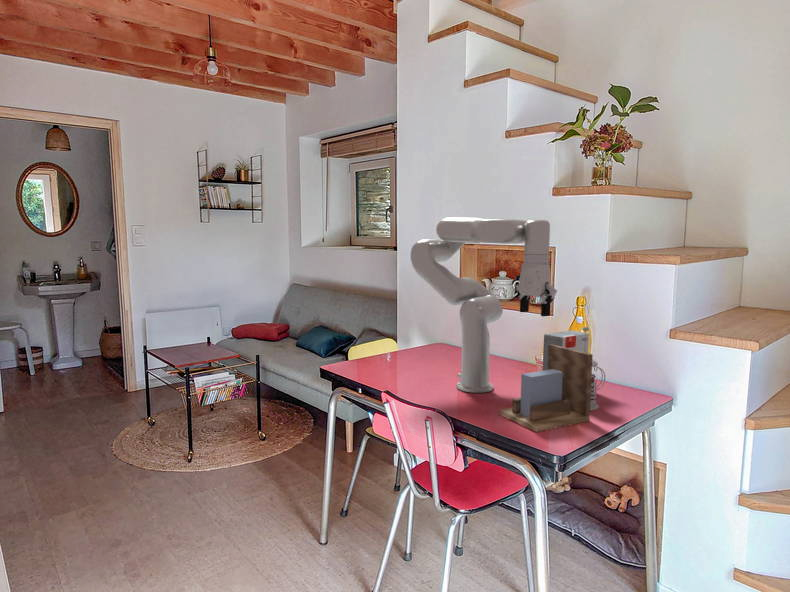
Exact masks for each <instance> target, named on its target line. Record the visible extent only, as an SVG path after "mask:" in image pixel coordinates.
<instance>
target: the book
mask: <svg viewBox="0 0 790 592" xmlns="http://www.w3.org/2000/svg"><path fill="white" fill-rule="evenodd" d="M562 378H563V372H560V371H557V370H554V369H551V370H544V371H542V370H539V371H532V372H531V371H530V372H526V373H521V379H520V380H521V381H520V382H521V383H520V398H521V408H520V415H523V416H525V417H527V418H530V406H535V405H540V404H546V403H551V402H556V401H562Z"/></svg>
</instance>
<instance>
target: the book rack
mask: <svg viewBox="0 0 790 592" xmlns="http://www.w3.org/2000/svg"><path fill="white" fill-rule="evenodd" d="M592 359H593V354H592V353H589V352H588V353H585V352H581V351H577V350H573V349H569V348H565V347H561V346H557V345H553V344H549V345H548V369H547V370H551V369H554V370H557V371H560V372H563V378H562V401H556V402H551V403H546V404H540V405H535V406H530V418H527V417H525V416H523V415H520V408H521V397H517V398H512V400H511V403H512V404H511V407H508V408H507V407H506V408H502V409H498V415H499V416H500V415H502V416H501V417H503V416H504V417H503V418H505V417H506V418H505V419H507V418H509V419H511V420H513V421H515V422H517V423H519V424H521V425H520V426H522V425H523V426H522V427H524V426H525V427H524V428H526V427H527V428H526V429H528V428H529V429H528V430H530V429H531V430H530V431H532V430H533V431H532V432H534V431H535V433H540V432H539V431H541V432H543V431H542V430H545V431H547V430H546V429H550V430H552V429H551V428H554V429H556V428H555V427H559V428H561V427H560V426H564V427H566V426H565V425H568V426H571V425H570V424H573V425H576V423H577V424H582V423H586V422H589V421H590V419H591V418H590V417H591V410H590V400H591V378H592V374H593V373H592V372H593V367H592ZM509 419H508V420H509ZM511 420H510V421H511ZM513 421H512V422H513ZM515 422H514V423H515ZM581 422H582V423H581ZM517 423H516V424H517ZM519 424H518V425H519Z"/></svg>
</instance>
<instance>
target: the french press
mask: <svg viewBox="0 0 790 592" xmlns="http://www.w3.org/2000/svg"><path fill="white" fill-rule="evenodd" d="M581 331H582V332H584V333H585V340H586V333H587V331H589V327H587V326H584V327H582V330H581ZM584 352H585V349H584ZM598 365H599V363H598V362H597V361H596V360H594V359H593V358H592V368H593V370H594V372H598V369H599V371H600V372H601V381H600V382H599V384H598V385H597V380H595V378H596V375H595V374H594V373H592V378H591V400H590V411H594V410H598V409H599V408H600V406H599V405H598V404H597V391H599V390H600V389H601V388H602V387H604V385H605V382H606V373H605V371H604V370H603V368H601V367H599V366H598ZM603 376H604V378H603ZM602 381H603V382H602ZM598 387H599V388H598Z"/></svg>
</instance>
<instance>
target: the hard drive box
mask: <svg viewBox="0 0 790 592" xmlns="http://www.w3.org/2000/svg"><path fill="white" fill-rule="evenodd" d="M589 341H590V333H588V332H586V340H585V331H577V330H565V331H558V332H551V333H545V334H544V335H543V349H542V350H543V352H542V354H543V355H542V370H541V371H544V370H547V369H548V345H549V344H553V345H557V346H561V347H565V348H569V349H573V350H577V351H581V352H584V349H585V353H589V346H590V345H589V344H590V342H589Z"/></svg>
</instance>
